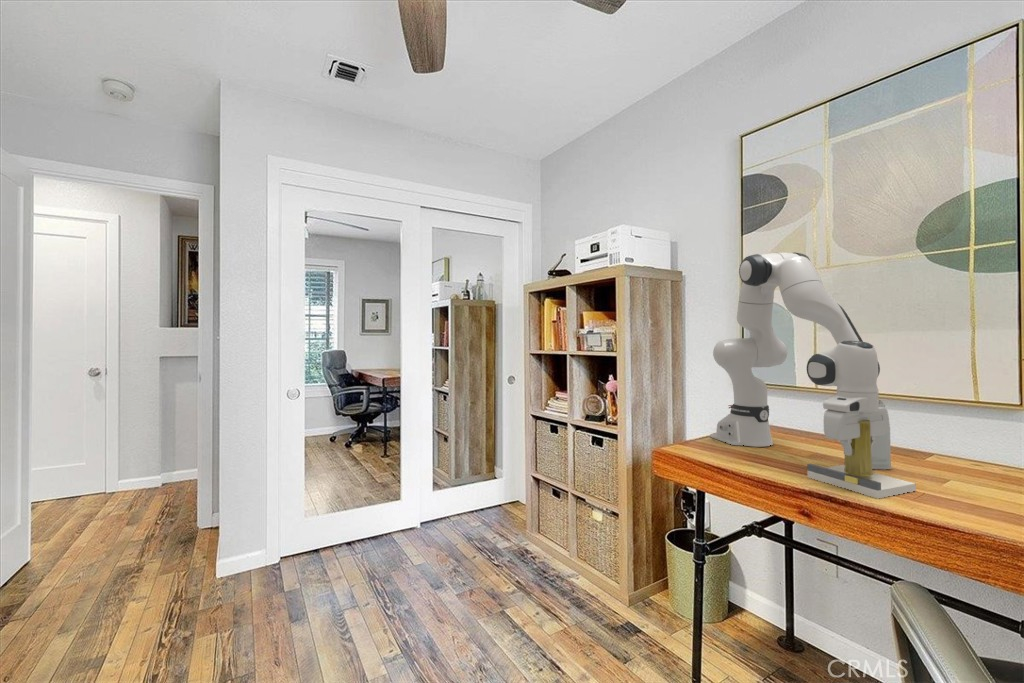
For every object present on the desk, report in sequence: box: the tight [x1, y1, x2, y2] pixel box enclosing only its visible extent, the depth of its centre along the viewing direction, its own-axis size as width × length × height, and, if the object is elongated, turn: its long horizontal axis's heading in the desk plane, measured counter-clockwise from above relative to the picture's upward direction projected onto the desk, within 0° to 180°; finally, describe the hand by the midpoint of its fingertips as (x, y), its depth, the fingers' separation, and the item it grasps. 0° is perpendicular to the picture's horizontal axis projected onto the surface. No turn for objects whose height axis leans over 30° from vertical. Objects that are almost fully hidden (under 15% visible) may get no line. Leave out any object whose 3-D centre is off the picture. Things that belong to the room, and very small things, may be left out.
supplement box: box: [871, 429, 892, 470], centre depth 135 cm, size 7×7×13 cm
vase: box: [844, 420, 874, 476], centre depth 119 cm, size 6×6×14 cm
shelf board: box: [806, 463, 917, 500], centre depth 119 cm, size 18×14×4 cm
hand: (857, 453), depth 119 cm, fingers closed on vase, 5 cm apart
